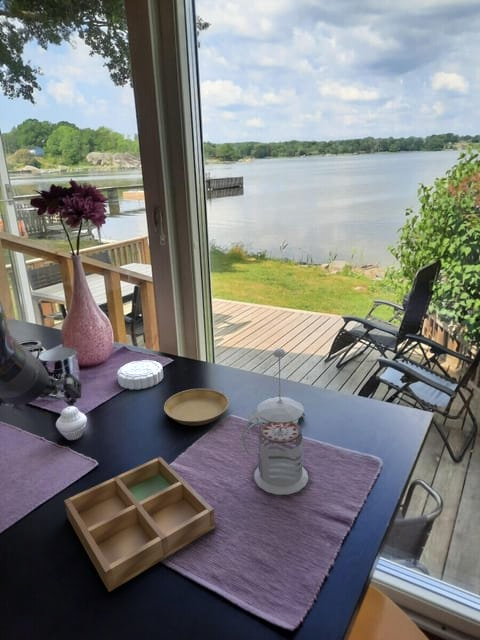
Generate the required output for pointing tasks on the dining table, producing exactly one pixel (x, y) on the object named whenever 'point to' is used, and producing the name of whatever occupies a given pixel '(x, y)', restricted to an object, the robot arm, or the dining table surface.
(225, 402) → the plant saucer
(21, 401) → the robot arm
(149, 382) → the mooncake
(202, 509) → the grid
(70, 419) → the muffin
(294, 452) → the french press
